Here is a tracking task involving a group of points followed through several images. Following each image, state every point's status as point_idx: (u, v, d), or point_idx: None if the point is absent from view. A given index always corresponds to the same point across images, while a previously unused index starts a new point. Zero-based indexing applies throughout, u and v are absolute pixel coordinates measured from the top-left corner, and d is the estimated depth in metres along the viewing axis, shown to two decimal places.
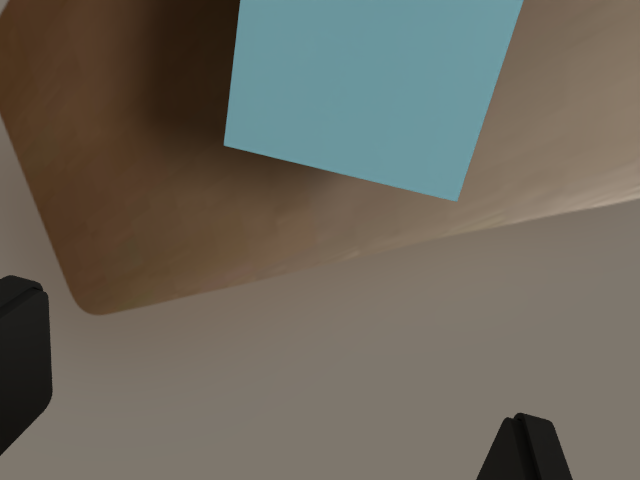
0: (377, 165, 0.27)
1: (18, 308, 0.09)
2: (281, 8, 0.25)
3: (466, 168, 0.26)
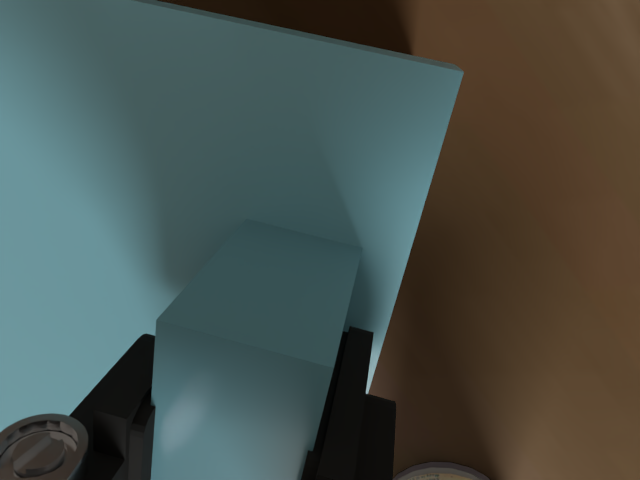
0: None
1: None
2: (51, 99, 0.10)
3: None
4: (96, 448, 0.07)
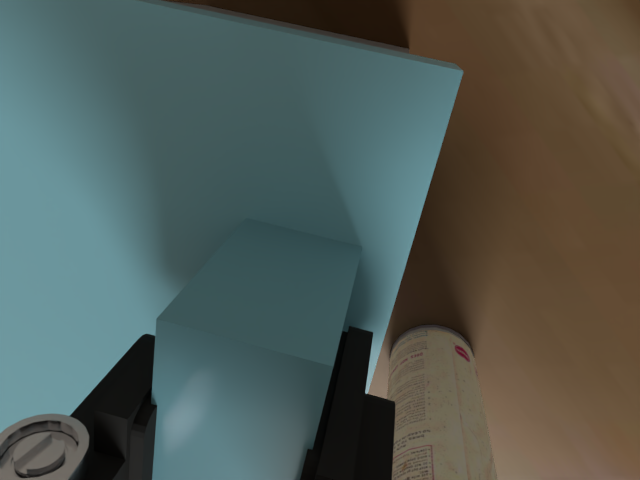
0: None
1: None
2: (52, 98, 0.10)
3: None
4: (97, 448, 0.07)
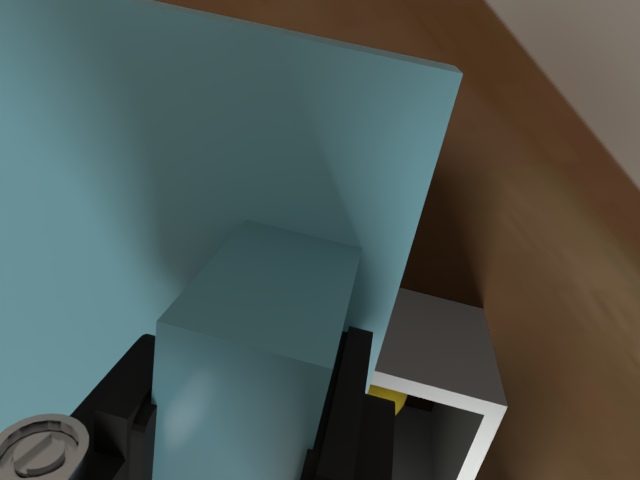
0: None
1: None
2: (52, 100, 0.10)
3: None
4: (97, 448, 0.07)
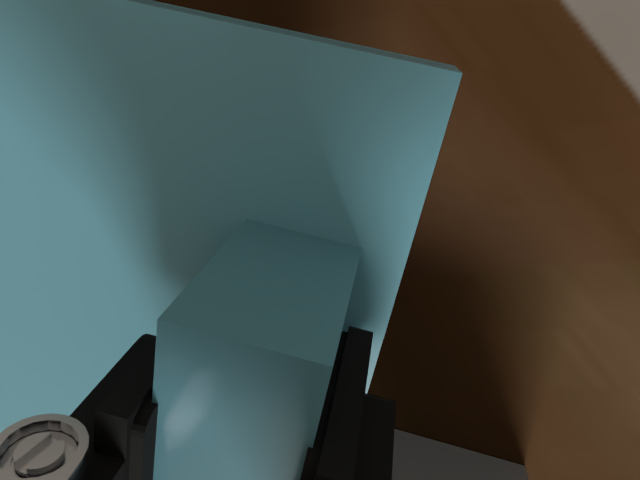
0: None
1: None
2: (53, 100, 0.10)
3: None
4: (97, 448, 0.07)
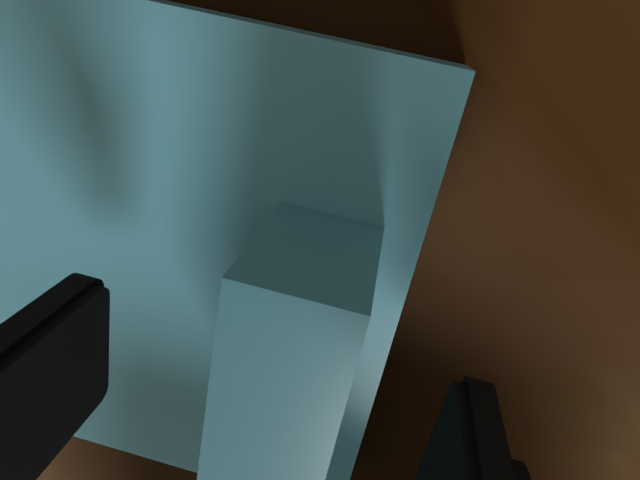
0: None
1: (87, 303, 0.09)
2: (110, 95, 0.12)
3: None
4: None
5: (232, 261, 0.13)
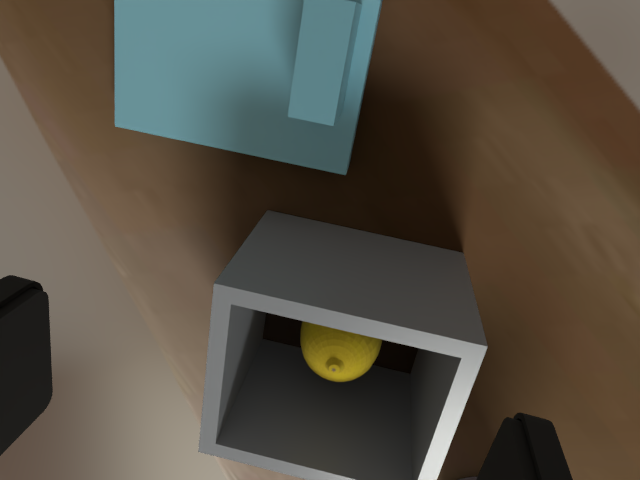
0: (129, 53, 0.30)
1: (18, 308, 0.09)
2: None
3: (142, 131, 0.32)
4: None
5: (295, 30, 0.28)
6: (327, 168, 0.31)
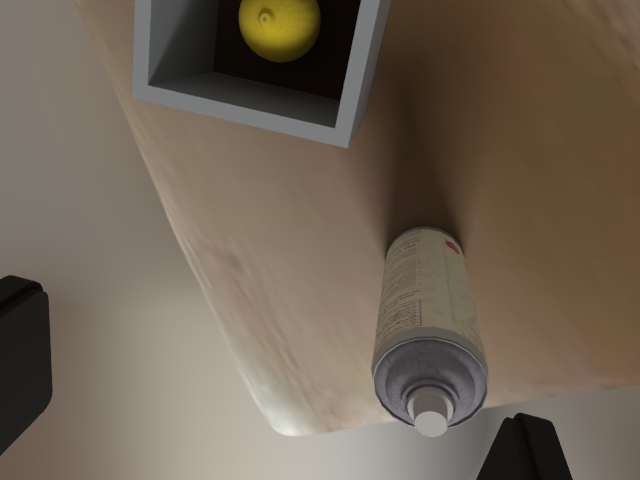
0: None
1: (18, 308, 0.09)
2: None
3: None
4: None
5: None
6: None
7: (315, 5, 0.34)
